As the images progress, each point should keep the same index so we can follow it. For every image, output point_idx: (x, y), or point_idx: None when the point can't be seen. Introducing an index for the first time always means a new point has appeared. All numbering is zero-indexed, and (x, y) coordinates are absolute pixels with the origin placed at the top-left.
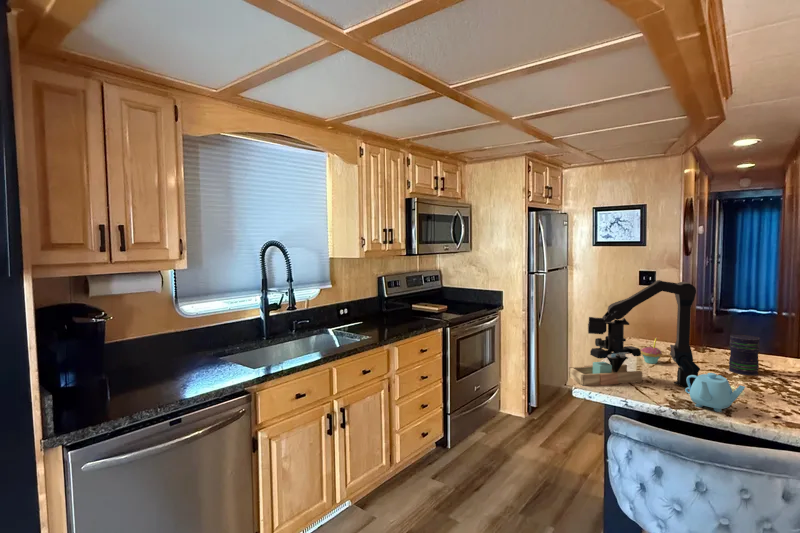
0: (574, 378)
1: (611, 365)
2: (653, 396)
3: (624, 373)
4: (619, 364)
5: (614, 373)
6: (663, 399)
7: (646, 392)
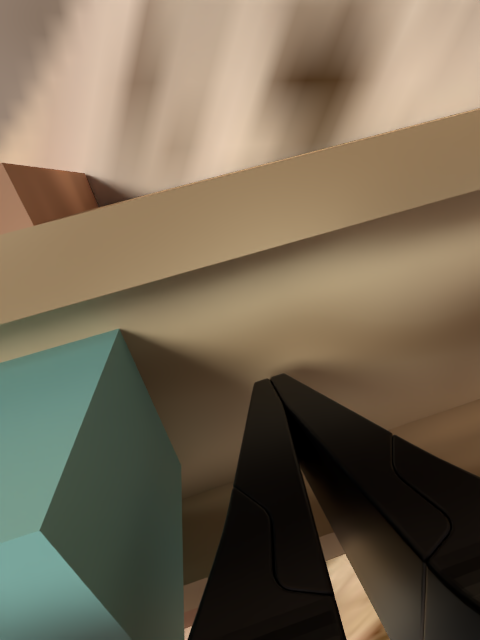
0: None
1: None
2: (342, 615)
3: (330, 549)
4: (379, 611)
5: (191, 609)
6: (365, 631)
7: (341, 579)
